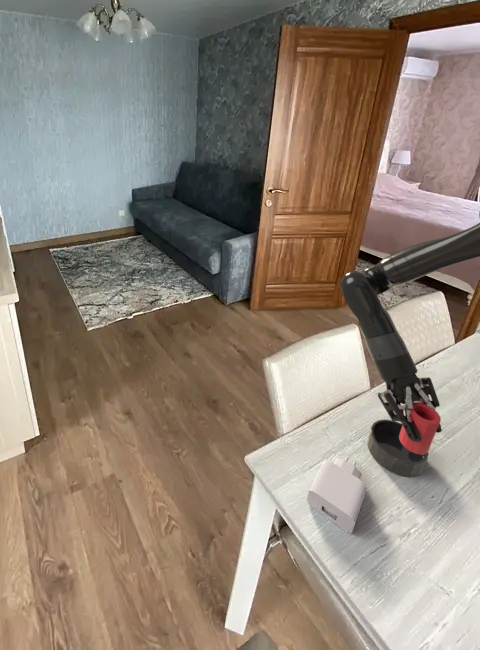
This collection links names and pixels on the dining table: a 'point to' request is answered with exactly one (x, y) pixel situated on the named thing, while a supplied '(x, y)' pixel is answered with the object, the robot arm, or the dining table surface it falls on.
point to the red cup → (421, 428)
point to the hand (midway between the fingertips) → (426, 436)
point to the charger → (338, 492)
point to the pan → (393, 450)
